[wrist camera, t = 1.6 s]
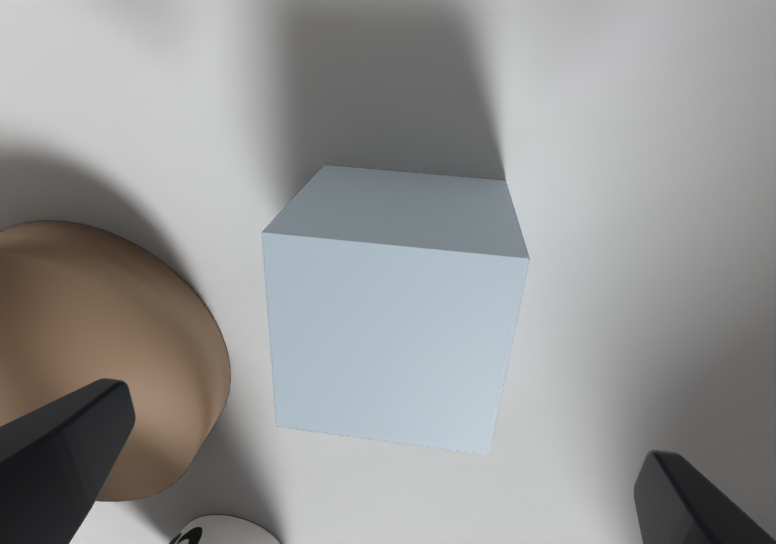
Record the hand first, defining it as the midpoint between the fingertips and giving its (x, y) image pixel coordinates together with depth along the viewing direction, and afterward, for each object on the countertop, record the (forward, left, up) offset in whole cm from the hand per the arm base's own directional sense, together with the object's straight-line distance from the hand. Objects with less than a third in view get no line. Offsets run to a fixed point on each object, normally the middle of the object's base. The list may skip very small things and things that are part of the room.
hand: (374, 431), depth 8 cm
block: (0, 0, -7) cm, 7 cm away
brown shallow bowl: (+11, +5, -7) cm, 14 cm away
